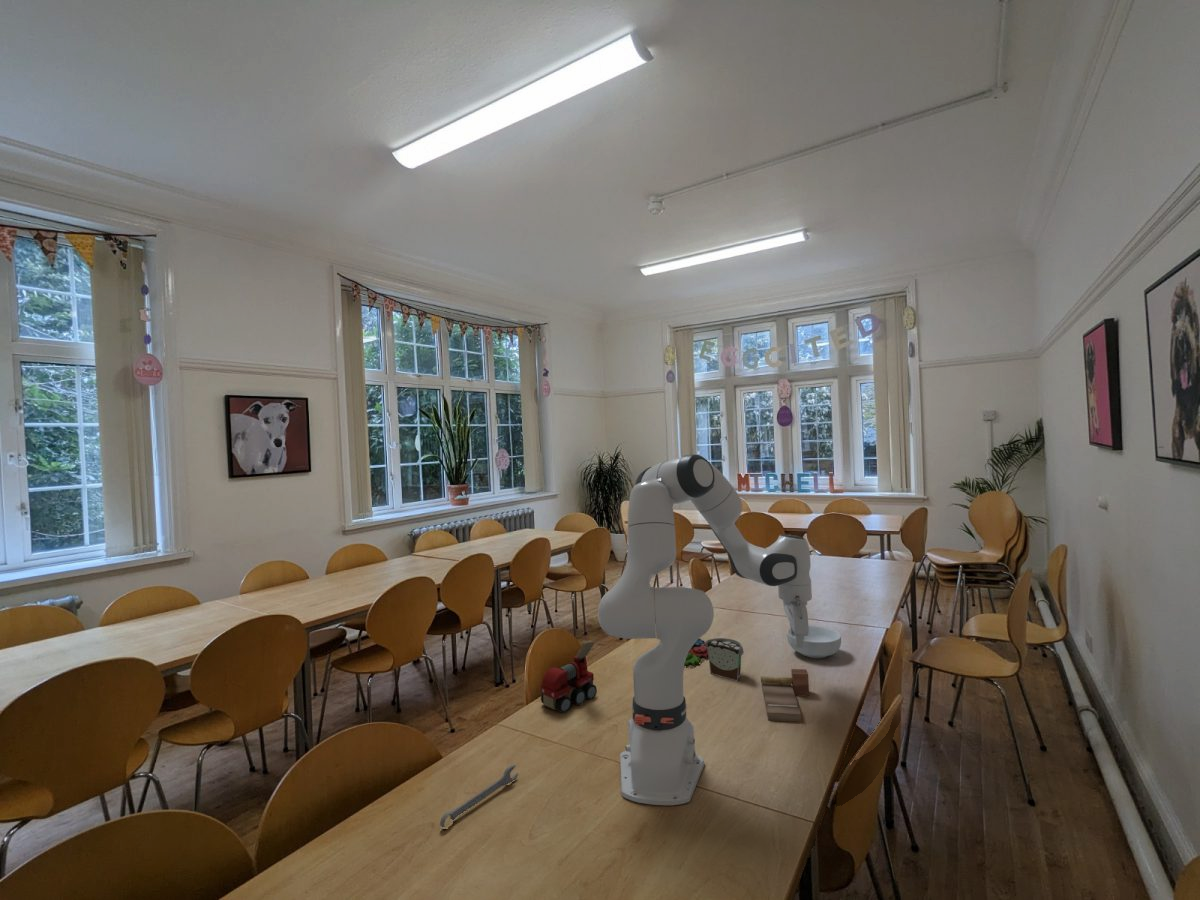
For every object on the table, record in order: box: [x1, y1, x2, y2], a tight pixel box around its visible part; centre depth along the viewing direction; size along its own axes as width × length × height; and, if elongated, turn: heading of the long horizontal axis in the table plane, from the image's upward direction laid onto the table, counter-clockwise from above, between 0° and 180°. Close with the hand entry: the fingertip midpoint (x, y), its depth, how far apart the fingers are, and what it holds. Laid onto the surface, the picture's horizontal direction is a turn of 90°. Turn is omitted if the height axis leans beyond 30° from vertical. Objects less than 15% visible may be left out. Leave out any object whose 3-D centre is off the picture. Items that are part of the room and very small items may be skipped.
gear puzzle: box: [684, 638, 709, 669], centre depth 185 cm, size 31×16×4 cm, turn 138°
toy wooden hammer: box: [760, 668, 810, 697], centre depth 156 cm, size 4×13×6 cm, turn 78°
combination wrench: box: [439, 764, 519, 827], centre depth 112 cm, size 4×1×20 cm
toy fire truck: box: [540, 640, 598, 714], centre depth 155 cm, size 11×16×18 cm
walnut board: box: [761, 683, 802, 723], centre depth 150 cm, size 20×8×2 cm, turn 168°
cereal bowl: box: [786, 624, 842, 659], centre depth 183 cm, size 17×17×7 cm
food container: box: [705, 637, 745, 682], centre depth 170 cm, size 12×6×10 cm, turn 47°
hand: (796, 640), depth 156 cm, fingers open, 8 cm apart
